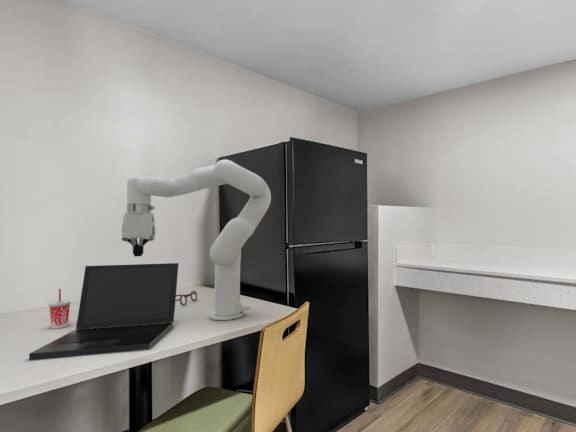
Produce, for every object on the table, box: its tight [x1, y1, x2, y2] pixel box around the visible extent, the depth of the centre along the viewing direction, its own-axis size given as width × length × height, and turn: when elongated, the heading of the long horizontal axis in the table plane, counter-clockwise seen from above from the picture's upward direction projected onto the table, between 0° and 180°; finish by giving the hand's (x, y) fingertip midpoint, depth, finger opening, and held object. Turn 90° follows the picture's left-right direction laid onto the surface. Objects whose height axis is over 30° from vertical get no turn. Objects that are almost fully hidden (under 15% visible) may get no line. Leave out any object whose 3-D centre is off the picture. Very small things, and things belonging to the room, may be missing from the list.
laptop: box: [28, 322, 174, 361], centre depth 112 cm, size 22×30×2 cm
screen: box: [75, 262, 179, 330], centre depth 126 cm, size 22×30×1 cm
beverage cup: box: [48, 288, 72, 330], centre depth 128 cm, size 6×6×14 cm
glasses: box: [175, 290, 198, 306], centre depth 162 cm, size 13×13×5 cm
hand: (138, 256), depth 133 cm, fingers closed
